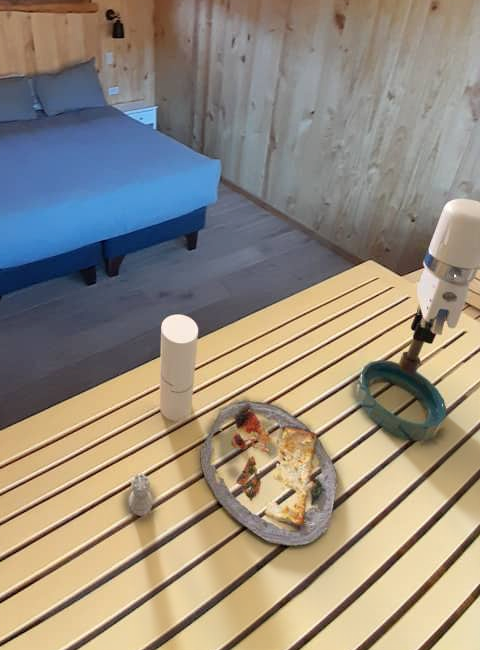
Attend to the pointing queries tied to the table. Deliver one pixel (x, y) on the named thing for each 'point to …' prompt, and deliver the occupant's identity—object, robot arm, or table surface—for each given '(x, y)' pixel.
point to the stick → (411, 357)
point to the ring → (412, 384)
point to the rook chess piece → (140, 495)
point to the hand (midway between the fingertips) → (421, 335)
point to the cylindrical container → (177, 366)
